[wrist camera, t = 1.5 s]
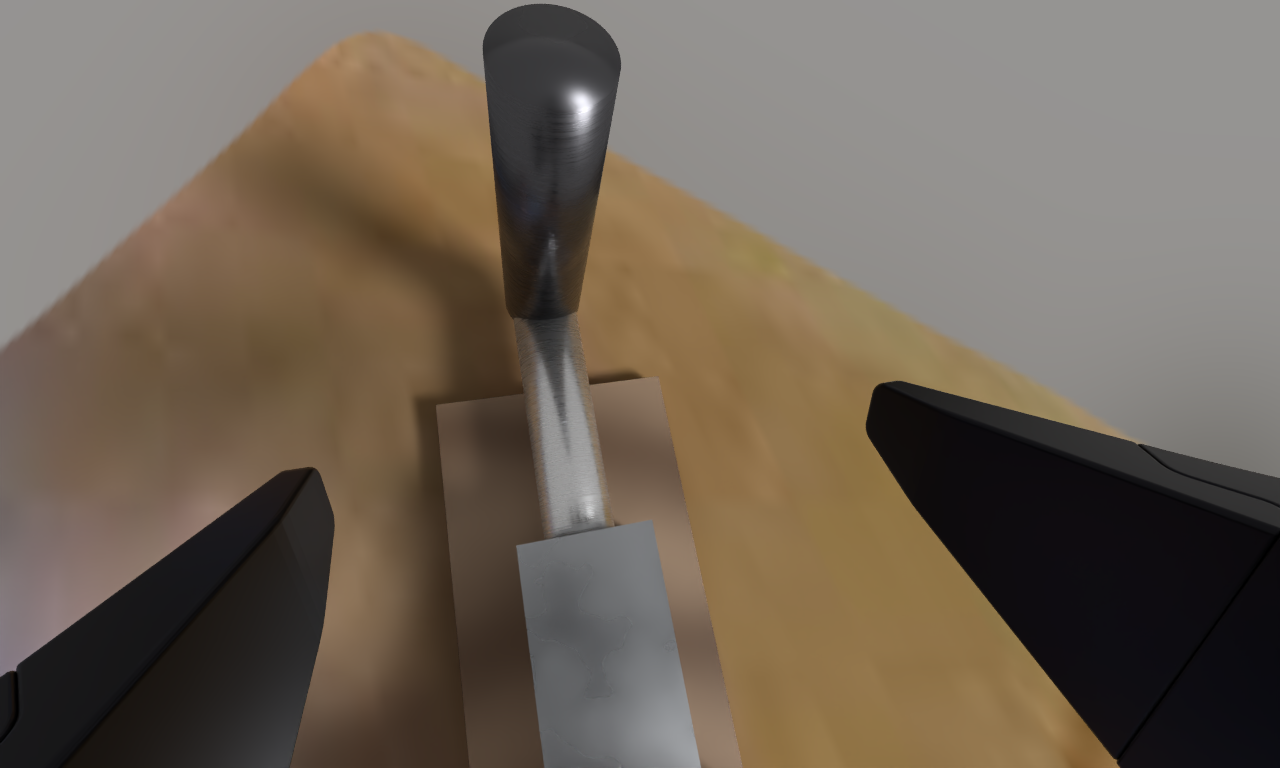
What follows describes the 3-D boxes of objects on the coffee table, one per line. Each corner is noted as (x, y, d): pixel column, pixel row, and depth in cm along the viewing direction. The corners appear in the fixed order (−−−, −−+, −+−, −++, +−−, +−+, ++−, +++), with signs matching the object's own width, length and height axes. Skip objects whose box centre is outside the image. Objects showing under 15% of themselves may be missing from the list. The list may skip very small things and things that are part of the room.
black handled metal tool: (647, 712, 19) (823, 917, 7) (564, 735, 18) (621, 998, 7) (570, 280, 23) (607, 5, 12) (502, 286, 23) (475, 2, 12)
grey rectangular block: (673, 766, 19) (710, 814, 15) (550, 803, 18) (556, 865, 14) (630, 530, 21) (652, 519, 18) (519, 551, 20) (516, 545, 17)
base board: (771, 937, 19) (783, 956, 18) (499, 1045, 17) (497, 1072, 16) (653, 383, 25) (658, 376, 24) (439, 411, 23) (435, 404, 22)
